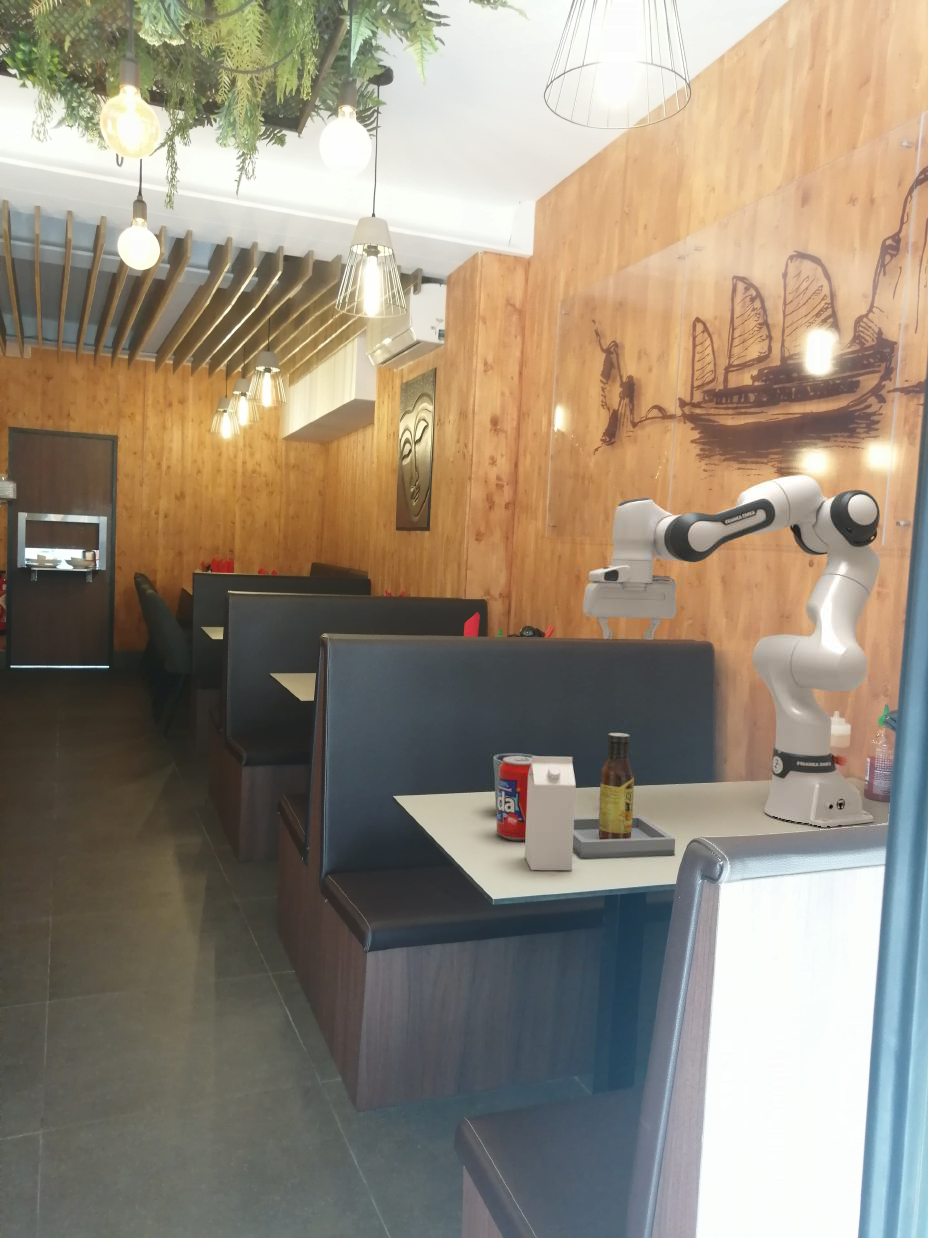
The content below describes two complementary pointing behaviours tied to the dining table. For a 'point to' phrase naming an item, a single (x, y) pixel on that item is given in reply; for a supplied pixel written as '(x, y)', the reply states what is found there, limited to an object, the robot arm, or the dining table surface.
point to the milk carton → (550, 813)
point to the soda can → (513, 797)
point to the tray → (621, 840)
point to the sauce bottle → (616, 790)
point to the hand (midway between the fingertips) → (628, 639)
